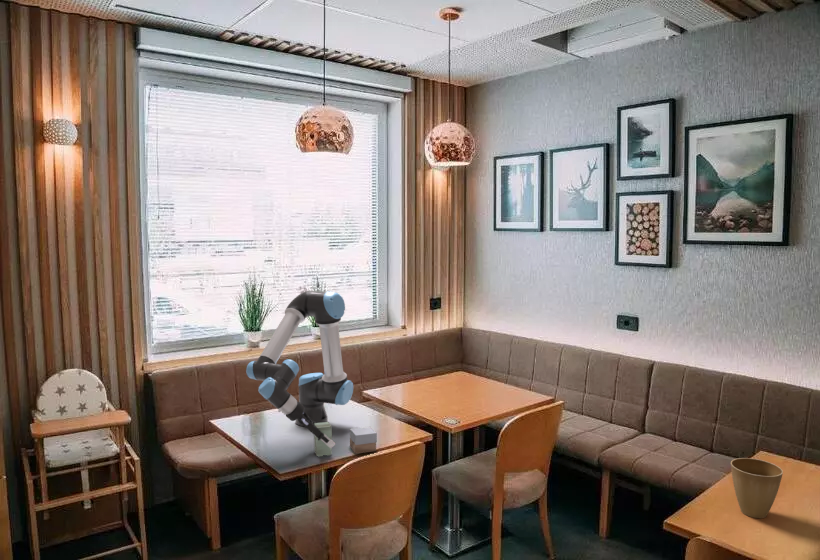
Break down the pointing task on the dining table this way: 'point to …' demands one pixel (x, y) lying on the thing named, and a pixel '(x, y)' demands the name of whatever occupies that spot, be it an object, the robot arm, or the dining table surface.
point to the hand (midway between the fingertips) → (330, 442)
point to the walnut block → (362, 447)
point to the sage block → (319, 445)
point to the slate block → (363, 435)
